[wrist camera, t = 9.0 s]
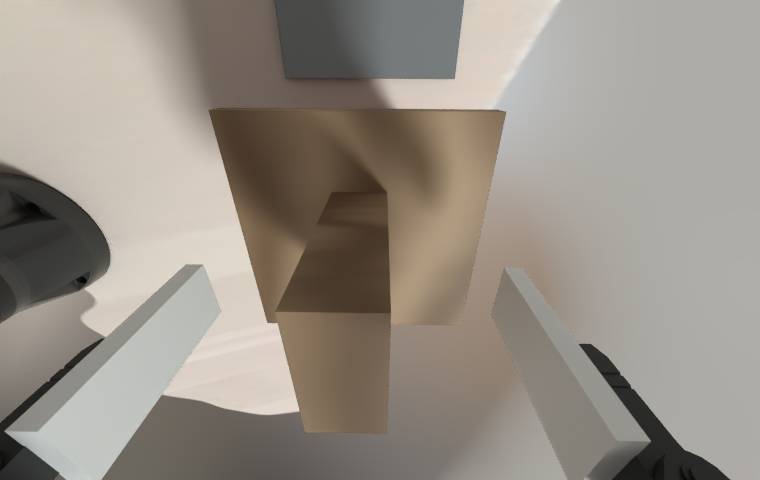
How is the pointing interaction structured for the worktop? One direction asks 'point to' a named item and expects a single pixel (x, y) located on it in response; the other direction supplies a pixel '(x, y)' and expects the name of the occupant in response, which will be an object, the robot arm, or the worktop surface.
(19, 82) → the worktop surface
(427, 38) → the mat
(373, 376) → the wooden base stand
